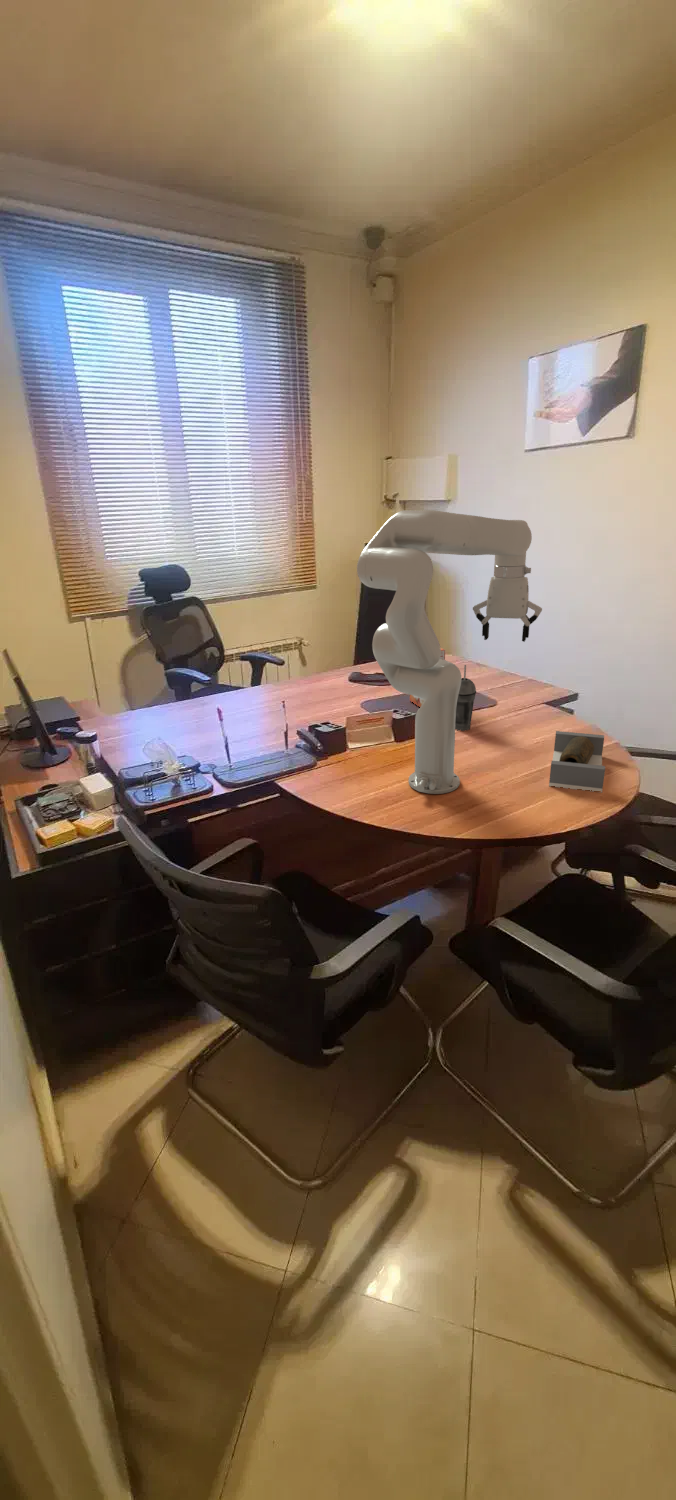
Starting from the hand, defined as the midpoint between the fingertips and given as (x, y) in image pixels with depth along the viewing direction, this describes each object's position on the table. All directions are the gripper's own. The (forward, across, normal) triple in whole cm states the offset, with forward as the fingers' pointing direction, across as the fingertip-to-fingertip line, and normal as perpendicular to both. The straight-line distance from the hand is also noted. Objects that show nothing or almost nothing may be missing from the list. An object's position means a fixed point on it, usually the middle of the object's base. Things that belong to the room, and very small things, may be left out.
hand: (504, 639), depth 164 cm
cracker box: (+31, +27, -27) cm, 49 cm away
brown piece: (+30, -21, +11) cm, 38 cm away
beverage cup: (+31, +12, -11) cm, 35 cm away
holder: (+30, -21, +11) cm, 38 cm away
